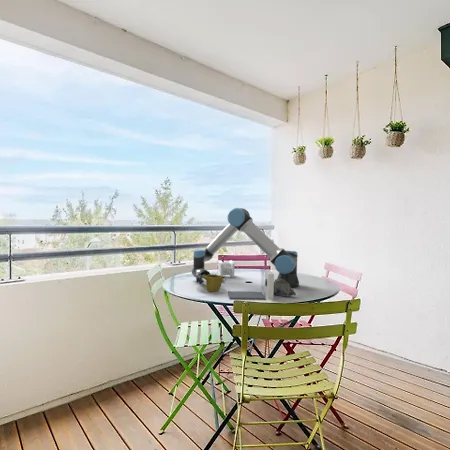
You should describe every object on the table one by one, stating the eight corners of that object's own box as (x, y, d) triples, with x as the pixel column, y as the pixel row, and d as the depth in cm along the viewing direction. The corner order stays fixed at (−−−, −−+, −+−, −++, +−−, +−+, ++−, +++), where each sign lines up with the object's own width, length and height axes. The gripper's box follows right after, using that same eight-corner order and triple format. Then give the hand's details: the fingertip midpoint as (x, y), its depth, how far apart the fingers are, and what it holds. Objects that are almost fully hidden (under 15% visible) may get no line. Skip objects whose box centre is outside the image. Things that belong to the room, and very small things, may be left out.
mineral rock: (297, 298, 189) (297, 280, 189) (280, 299, 185) (281, 281, 185) (284, 292, 201) (285, 276, 201) (269, 294, 197) (269, 277, 197)
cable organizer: (234, 279, 238) (235, 262, 238) (219, 279, 237) (220, 262, 236) (231, 275, 253) (231, 259, 253) (217, 275, 252) (217, 259, 251)
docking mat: (261, 293, 198) (261, 291, 198) (265, 299, 184) (265, 297, 184) (228, 292, 197) (228, 291, 197) (229, 299, 183) (229, 297, 183)
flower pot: (212, 288, 208) (212, 273, 208) (223, 290, 202) (223, 275, 202) (202, 290, 201) (202, 275, 201) (213, 293, 196) (213, 278, 195)
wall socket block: (269, 293, 197) (270, 270, 197) (273, 299, 185) (274, 274, 185) (263, 293, 197) (264, 270, 197) (267, 299, 185) (267, 274, 185)
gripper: (219, 279, 223) (233, 287, 203) (185, 281, 214) (196, 289, 194) (220, 268, 222) (233, 274, 202) (186, 270, 213) (196, 276, 193)
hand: (215, 282), depth 198 cm, fingers closed on flower pot, 11 cm apart
